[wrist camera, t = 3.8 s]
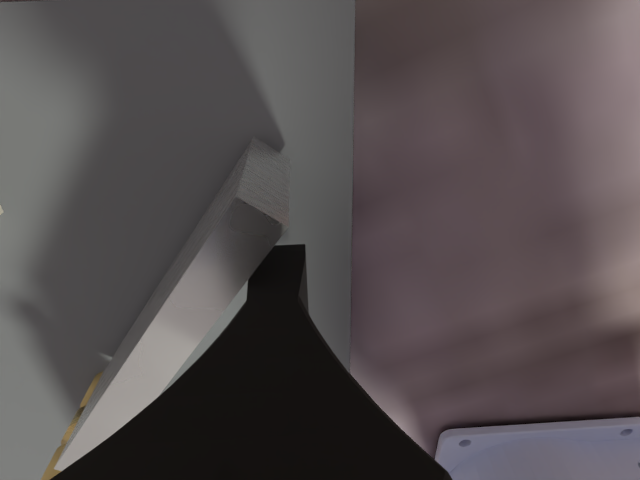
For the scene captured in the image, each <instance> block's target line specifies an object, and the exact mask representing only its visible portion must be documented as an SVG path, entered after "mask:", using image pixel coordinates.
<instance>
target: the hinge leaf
mask: <svg viewBox="0 0 640 480" xmlns="http://www.w3.org/2000/svg"><path fill="white" fill-rule="evenodd" d="M290 163H291V160H289V159H288V158H286V157H285V156H283V155H282V154H280V153H279V152H277V151H276V150H274V149H273V148H271V147H270V146H268V145H266V144H265V143H263V142H262V141H260V140H259V139H257V138H256V137H253V138H252V140H251V141H250V143H249V145H248V146H247V148H246V149H245V151H244V152H243V154H242V155H241V157H240V159H239V160H238V162H237V163H236V165H235V166H234V168H233V170H232V171H231V173H230V174H229V176H228V177H227V179H226V180H225V182H224V184H223V185H222V187H221V188H220V190H219V191H218V193H217V194H216V196H215V198H214V199H213V201H212V202H211V204H210V205H209V207H208V208H207V210H206V212H205V213H204V215H203V216H202V218H201V219H200V221H199V222H198V224H197V226H196V227H195V229H194V230H193V232H192V233H191V235H190V236H189V238H188V240H187V241H186V243H185V244H184V246H183V247H182V249H181V250H180V252H179V254H178V255H177V257H176V258H175V260H174V261H173V263H172V264H171V266H170V268H169V269H168V271H167V272H166V274H165V275H164V277H163V278H162V280H161V282H160V283H159V285H158V286H157V288H156V289H155V291H154V293H153V294H152V296H151V297H150V299H149V300H148V302H147V303H146V305H145V307H144V308H143V310H142V311H141V313H140V314H139V316H138V317H137V319H136V321H135V322H134V324H133V325H132V327H131V328H130V330H129V331H128V333H127V335H126V336H125V338H124V339H123V341H122V342H121V344H120V345H119V347H118V349H117V350H116V352H115V353H114V355H113V356H112V358H111V359H110V361H109V363H108V364H107V366H106V367H105V369H104V371H103V373H102V375H101V377H100V379H99V381H98V383H97V385H96V387H95V389H94V391H93V393H92V395H91V397H90V399H89V401H88V403H87V404H86V406H83V407H81V408H79V409H78V410H77V411H76V413H75V415H74V417H73V419H72V421H71V423H70V425H69V427H68V429H67V430H66V432H65V434H64V436H63V438H62V440H61V445H64V444H66V446H65V448H64V450H63V451H62V453H61V455H60V457H59V459H58V461H57V463H56V465H55V467H54V469H55V470H59V471H63V470H64V469H65V468H67V467H68V466H70V465H71V464H73V463H74V462H75V461H77V460H78V459H80V458H81V457H82V456H84V455H85V454H87V453H88V452H89V451H91V450H92V449H94V448H95V447H97V446H98V445H99V444H101V443H102V442H103V441H105V440H106V439H107V438H108V437H110V436H111V435H112V434H114V433H115V432H116V431H118V430H119V429H120V428H121V427H123V426H124V425H125V424H126V423H128V422H129V421H130V420H131V419H132V418H134V417H135V416H136V415H137V414H138V413H140V412H141V411H142V410H143V409H144V408H146V407H147V406H148V405H149V404H150V403H152V402H153V401H154V400H155V399H156V398H157V397H158V396H159V395H160V394H161V392H162V391H163V390H164V388H165V387H166V386H167V384H168V383H169V382H170V381H171V379H172V378H173V377H174V375H175V374H176V373H177V371H178V370H179V369H180V368H181V366H182V365H183V364H184V362H185V361H186V360H187V358H188V357H189V356H190V355H191V353H192V352H193V351H194V349H195V348H196V347H197V345H198V344H199V343H200V342H201V340H202V339H203V338H204V336H205V335H206V334H207V332H208V331H209V330H210V328H211V327H212V326H213V325H214V323H215V322H216V321H217V319H218V318H219V317H220V315H221V314H222V313H223V312H224V310H225V309H226V308H227V306H228V305H229V304H230V302H231V301H232V300H233V299H234V297H235V296H236V295H237V293H238V292H239V291H240V289H241V288H242V287H243V286H244V284H245V283H246V282H247V280H248V279H249V278H250V276H251V275H252V274H253V273H254V271H255V270H256V269H257V267H258V266H259V265H260V263H261V262H262V261H263V260H264V258H265V257H266V256H267V254H268V253H269V252H270V250H271V249H272V248H273V247H274V245H275V244H276V243H277V241H278V240H279V239H280V237H281V236H282V235H283V234H284V232H285V231H286V230H287V228H288V224H289V194H290Z"/></svg>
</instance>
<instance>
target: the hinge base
mask: <svg viewBox="0 0 640 480" xmlns="http://www.w3.org/2000/svg"><path fill="white" fill-rule="evenodd" d="M354 58H355V0H42V1H12V2H0V480H50V479H51V478H53V477H54V476H56V475H57V474H58V473H60V472H61V471H59V470H55V469H54V467H55V465H56V463H57V461H58V459H59V457H60V455H61V453H62V451H63V450H64V448H65V446H66V444H64V445H61V440H62V438H63V436H64V434H65V432H66V430H67V429H68V427H69V425H70V423H71V421H72V419H73V417H74V415H75V413H76V411H77V410H78V409H79V408H81V407H83V406H86V404H87V403H88V401H89V399H90V397H91V395H92V393H93V391H94V389H95V387H96V385H97V383H98V381H99V379H100V377H101V375H102V373H103V371H104V369H105V367H106V366H107V364H108V363H109V361H110V359H111V358H112V356H113V355H114V353H115V352H116V350H117V349H118V347H119V345H120V344H121V342H122V341H123V339H124V338H125V336H126V335H127V333H128V331H129V330H130V328H131V327H132V325H133V324H134V322H135V321H136V319H137V317H138V316H139V314H140V313H141V311H142V310H143V308H144V307H145V305H146V303H147V302H148V300H149V299H150V297H151V296H152V294H153V293H154V291H155V289H156V288H157V286H158V285H159V283H160V282H161V280H162V278H163V277H164V275H165V274H166V272H167V271H168V269H169V268H170V266H171V264H172V263H173V261H174V260H175V258H176V257H177V255H178V254H179V252H180V250H181V249H182V247H183V246H184V244H185V243H186V241H187V240H188V238H189V236H190V235H191V233H192V232H193V230H194V229H195V227H196V226H197V224H198V222H199V221H200V219H201V218H202V216H203V215H204V213H205V212H206V210H207V208H208V207H209V205H210V204H211V202H212V201H213V199H214V198H215V196H216V194H217V193H218V191H219V190H220V188H221V187H222V185H223V184H224V182H225V180H226V179H227V177H228V176H229V174H230V173H231V171H232V170H233V168H234V166H235V165H236V163H237V162H238V160H239V159H240V157H241V155H242V154H243V152H244V151H245V149H246V148H247V146H248V145H249V143H250V141H251V140H252V138H253V137H256V138H257V139H259V140H260V141H262V142H263V143H265V144H266V145H268V146H270V147H271V148H273V149H274V150H276V151H277V152H279V153H280V154H282V155H283V156H285V157H286V158H288V159H289V160H291V163H290V194H289V224H288V228H287V230H286V231H285V232H284V234H283V235H282V236H281V237H280V239H279V240H278V241H277V243H276V244H275V245H295V244H305V248H306V268H307V288H308V308H309V315H310V317H311V319H312V321H313V322H314V324H315V326H316V327H317V329H318V331H319V332H320V334H321V335H322V337H323V338H324V340H325V341H326V343H327V344H328V345H329V347H330V348H331V350H332V351H333V353H334V354H335V355H336V357H337V358H338V359H339V360H340V362H341V363H342V364H343V366H344V367H345V368H346V370H347V371H348V372H349V373H350V337H351V267H352V197H353V128H354ZM247 287H248V280H247V282H246V283H245V284H244V286H243V287H242V288H241V289H240V291H239V292H238V293H237V295H236V296H235V297H234V299H233V300H232V301H231V302H230V304H229V305H228V306H227V308H226V309H225V310H224V312H223V313H222V314H221V315H220V317H219V318H218V319H217V321H216V322H215V323H214V325H213V326H212V327H211V328H210V330H209V331H208V332H207V334H206V335H205V336H204V338H203V339H202V340H201V342H200V343H199V344H198V345H197V347H196V348H195V349H194V351H193V352H192V353H191V355H190V356H189V357H188V358H187V360H186V361H185V362H184V364H183V365H182V366H181V368H180V369H179V370H178V371H177V373H176V374H175V375H174V377H173V378H172V379H171V381H170V382H169V383H168V384H167V386H166V387H165V388H164V390H163V391H162V392H161V394H162V393H163V392H164V391H165V390H166V389H168V388H169V387H170V386H171V385H172V384H173V383H174V382H175V381H176V380H177V379H178V378H179V377H180V376H181V375H182V374H183V373H184V372H185V371H186V370H187V369H188V368H189V367H190V366H191V365H192V364H193V363H194V362H195V361H196V360H197V359H198V358H199V357H200V356H201V355H202V354H203V353H204V352H205V351H206V350H207V349H208V348H209V346H210V345H211V344H212V343H213V342H214V341H215V340H216V339H217V337H218V336H219V335H220V334H221V333H222V332H223V330H224V329H225V328H226V327H227V325H228V324H229V323H230V322H231V320H232V319H233V318H234V316H235V315H236V314H237V312H238V311H239V310H240V308H241V307H242V306H243V304H244V303H245V302H246V300H247ZM161 394H160V395H161ZM160 395H159V396H160ZM159 396H158V397H159ZM158 397H157V398H158Z"/></svg>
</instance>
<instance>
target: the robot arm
mask: <svg viewBox="0 0 640 480" xmlns="http://www.w3.org/2000/svg"><path fill="white" fill-rule="evenodd" d="M50 480H640V417H627V418H612V419H596V420H581V421H566V422H550V423H535V424H519V425H504V426H489V427H473V428H458V429H448V430H446V431H444V432H442V433H441V435H440V437H439V441H438V445H437V450H436V455H435V460H434V459H433V458H432V457H431V456H430V455H429V454H427V453H426V452H425V451H424V450H423V449H422V448H421V447H420V446H419V445H418V444H416V443H415V442H414V441H413V440H412V439H411V438H410V437H409V436H408V435H407V434H406V433H405V432H404V431H403V430H402V429H401V428H400V427H399V426H398V425H397V424H396V423H395V422H394V421H393V420H392V419H391V418H390V417H389V416H388V415H387V414H386V413H385V412H384V411H383V410H382V409H381V408H380V407H379V406H378V405H377V404H376V403H375V402H374V401H373V399H372V398H371V397H370V396H369V395H368V394H367V393H366V391H365V390H364V389H363V388H362V387H361V386H360V385H359V383H358V382H357V381H356V380H355V379H354V378H353V377H352V375H351V374H350V373H349V372H348V371H347V370H346V368H345V367H344V366H343V364H342V363H341V362H340V360H339V359H338V358H337V357H336V355H335V354H334V353H333V351H332V350H331V348H330V347H329V345H328V344H327V343H326V341H325V340H324V338H323V337H322V335H321V334H320V332H319V331H318V329H317V327H316V326H315V324H314V322H313V321H312V319H311V317H310V315H309V308H308V288H307V268H306V248H305V244H295V245H274V247H273V248H272V249H271V250H270V252H269V253H268V254H267V256H266V257H265V258H264V260H263V261H262V262H261V263H260V265H259V266H258V267H257V269H256V270H255V271H254V273H253V274H252V275H251V276H250V278H249V279H248V287H247V300H246V302H245V303H244V304H243V306H242V307H241V308H240V310H239V311H238V312H237V314H236V315H235V316H234V318H233V319H232V320H231V322H230V323H229V324H228V325H227V327H226V328H225V329H224V330H223V332H222V333H221V334H220V335H219V336H218V337H217V339H216V340H215V341H214V342H213V343H212V344H211V345H210V346H209V348H208V349H207V350H206V351H205V352H204V353H203V354H202V355H201V356H200V357H199V358H198V359H197V360H196V361H195V362H194V363H193V364H192V365H191V366H190V367H189V368H188V369H187V370H186V371H185V372H184V373H183V374H182V375H181V376H180V377H179V378H178V379H177V380H176V381H175V382H174V383H173V384H172V385H171V386H170V387H169V388H168V389H166V390H165V391H164V392H163V393H162V394H161V395H160V396H159V397H158V398H156V399H155V400H154V401H153V402H152V403H150V404H149V405H148V406H147V407H146V408H144V409H143V410H142V411H141V412H140V413H138V414H137V415H136V416H135V417H134V418H132V419H131V420H130V421H129V422H128V423H126V424H125V425H124V426H123V427H121V428H120V429H119V430H118V431H116V432H115V433H114V434H112V435H111V436H110V437H108V438H107V439H106V440H105V441H103V442H102V443H101V444H99V445H98V446H97V447H95V448H94V449H92V450H91V451H89V452H88V453H87V454H85V455H84V456H82V457H81V458H80V459H78V460H77V461H75V462H74V463H73V464H71V465H70V466H68V467H67V468H65V469H64V470H63V471H61V472H60V473H58V474H57V475H56V476H54V477H53V478H51V479H50Z"/></svg>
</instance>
